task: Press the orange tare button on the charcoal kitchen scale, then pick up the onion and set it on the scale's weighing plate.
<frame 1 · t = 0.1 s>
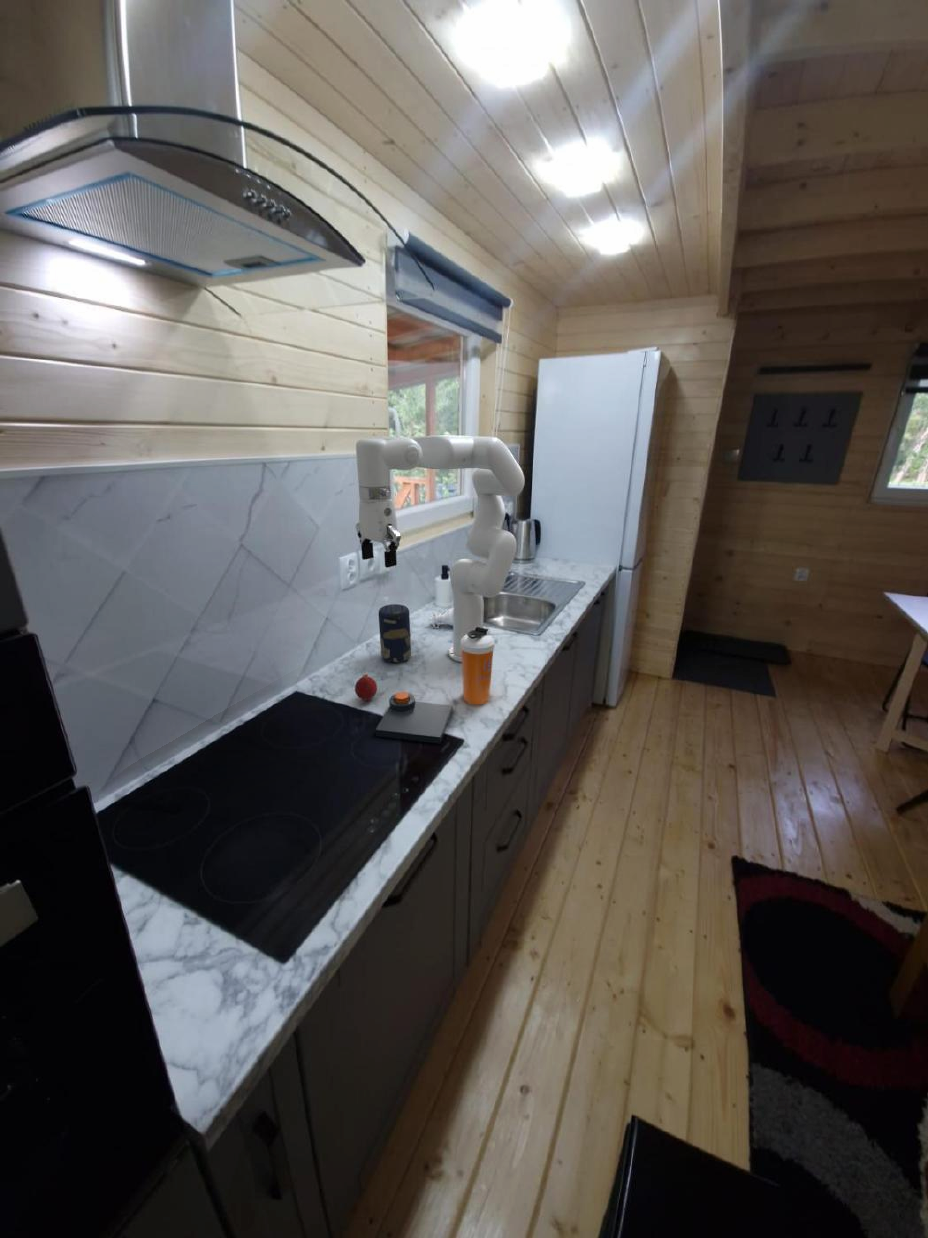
hand: (379, 562, 125), 37 cm above the worktop, tool pointing down, fingers open, 9 cm apart
rocket engine: (455, 625, 183), on the worktop
tare button: (401, 697, 128), point 4 cm above the worktop, slide at 0.1 cm
shaker bottle: (476, 698, 136), on the worktop
onion: (366, 700, 134), on the worktop
canister: (396, 658, 158), on the worktop
scale: (415, 723, 124), on the worktop
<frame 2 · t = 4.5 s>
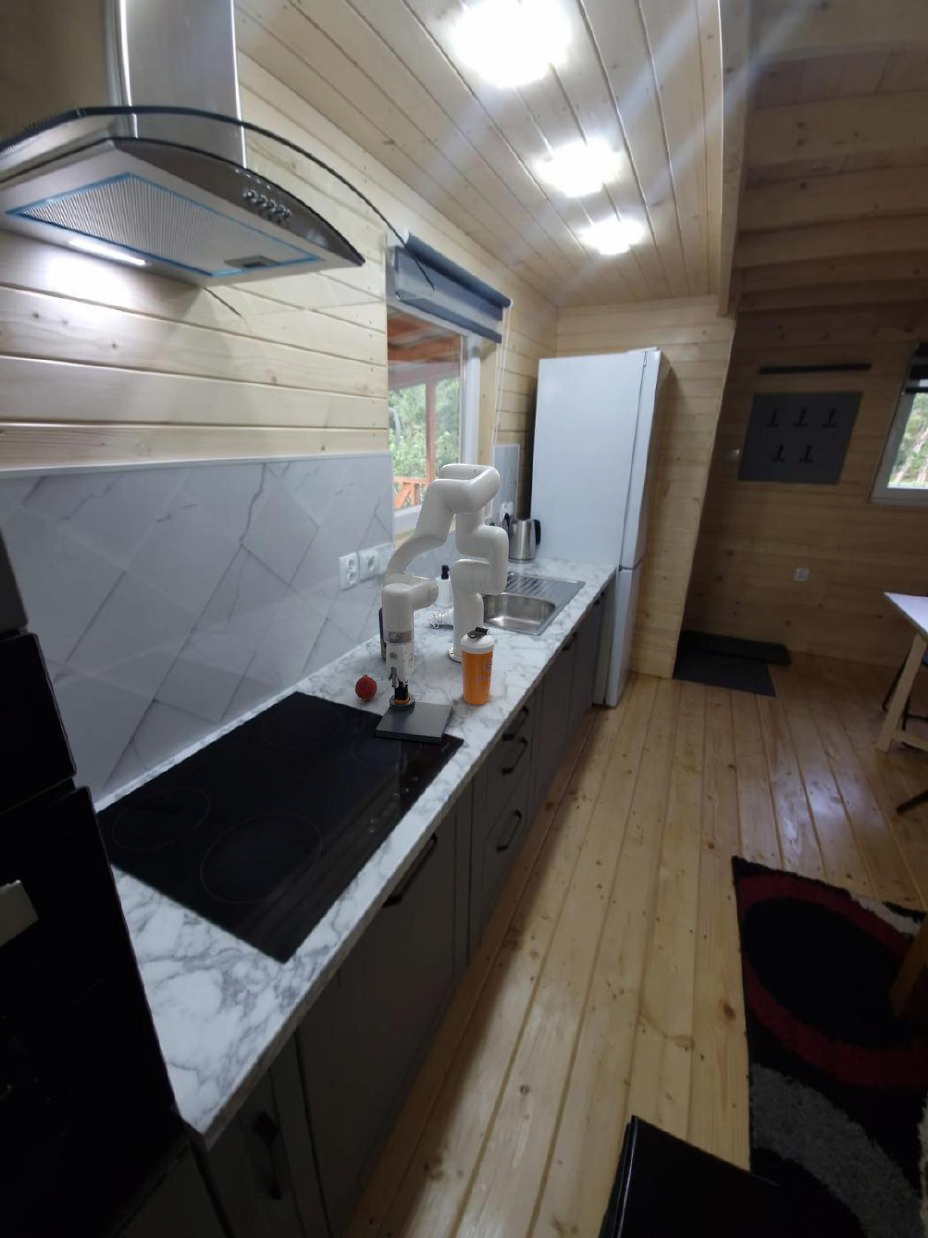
hand: (401, 698, 128), 4 cm above the worktop, tool pointing down, fingers closed
tare button: (402, 700, 129), point 3 cm above the worktop, slide at -0.7 cm, touching gripper
everything else where it was.
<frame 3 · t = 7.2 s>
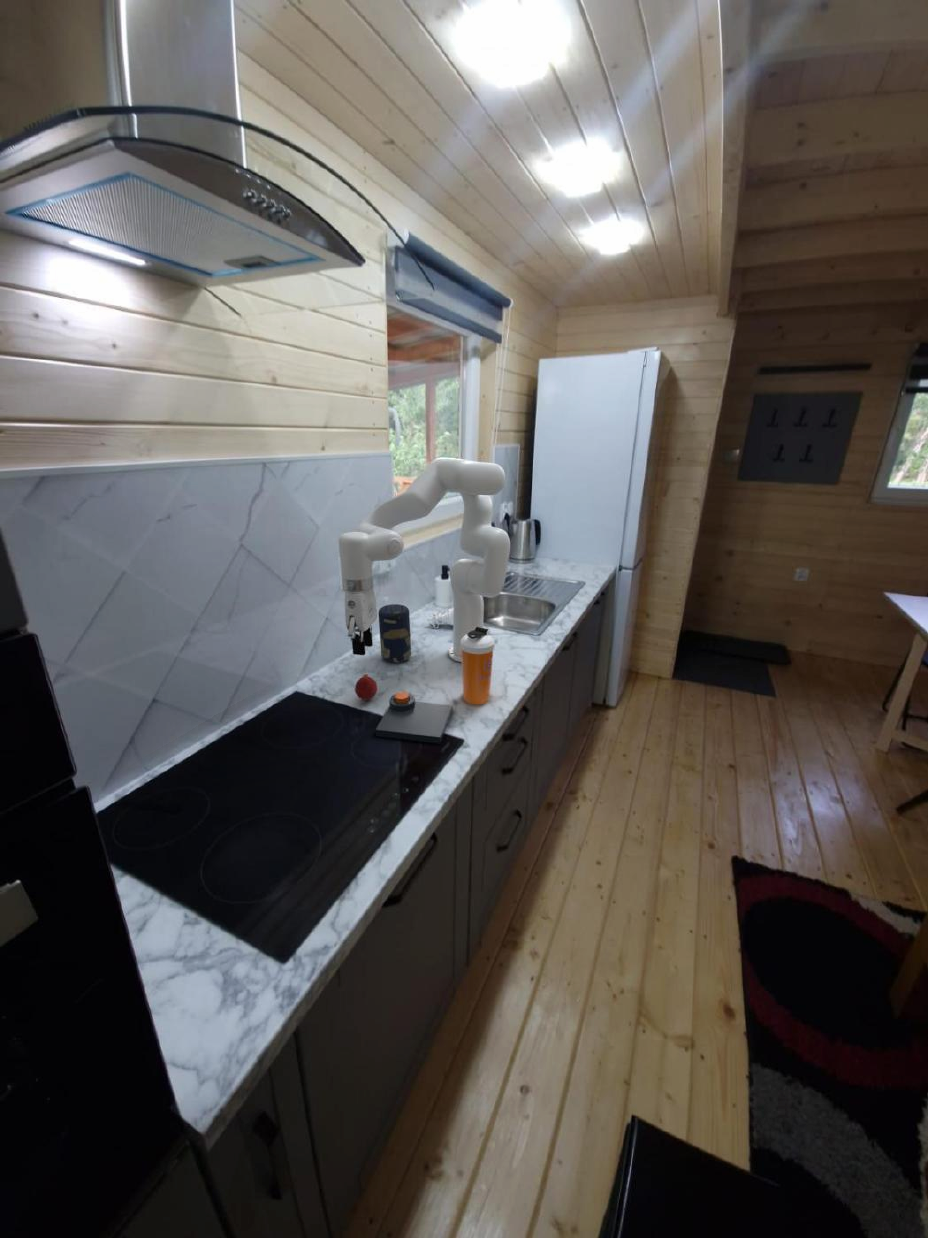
hand: (363, 649, 128), 15 cm above the worktop, tool pointing down, fingers open, 4 cm apart
tare button: (401, 697, 128), point 4 cm above the worktop, slide at 0.1 cm
everything else where it was.
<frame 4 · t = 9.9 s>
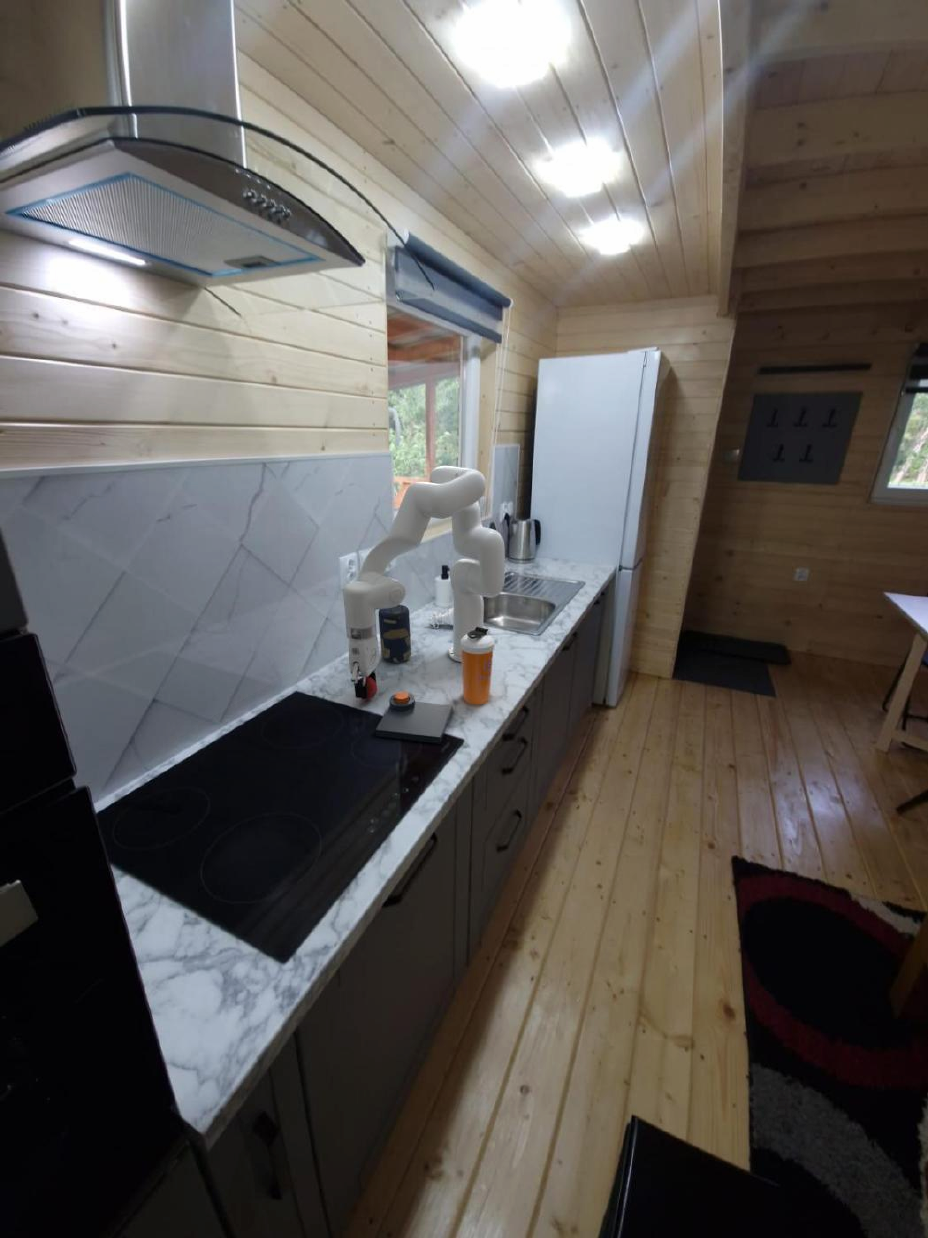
hand: (366, 690, 133), 3 cm above the worktop, tool pointing down, fingers closed on onion, 5 cm apart
onion: (366, 700, 134), on the worktop, touching gripper
everything else where it was.
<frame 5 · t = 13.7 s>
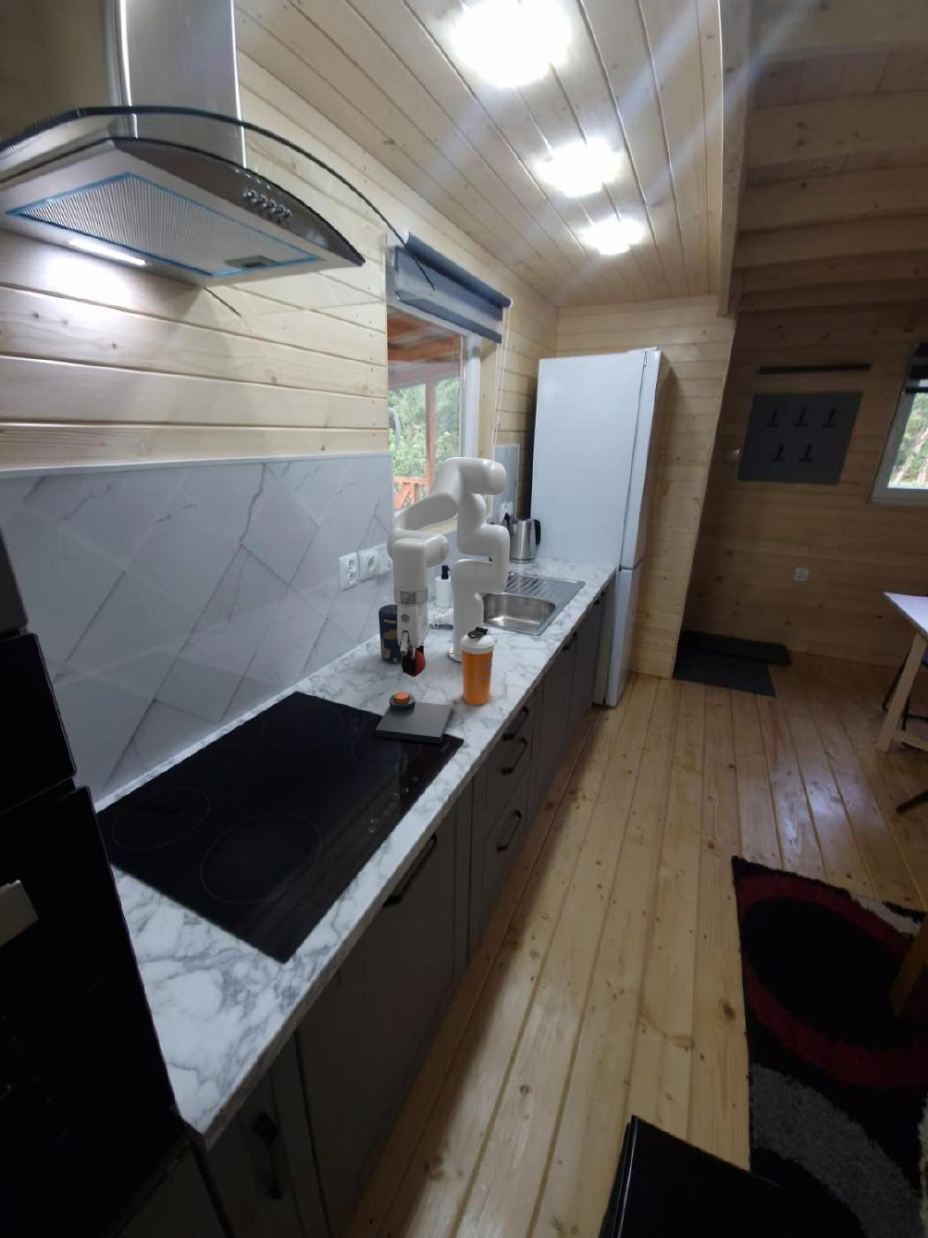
hand: (413, 665, 117), 17 cm above the worktop, tool pointing down, fingers closed on onion, 5 cm apart
onion: (413, 677, 118), point 14 cm above the worktop, touching gripper
everything else where it was.
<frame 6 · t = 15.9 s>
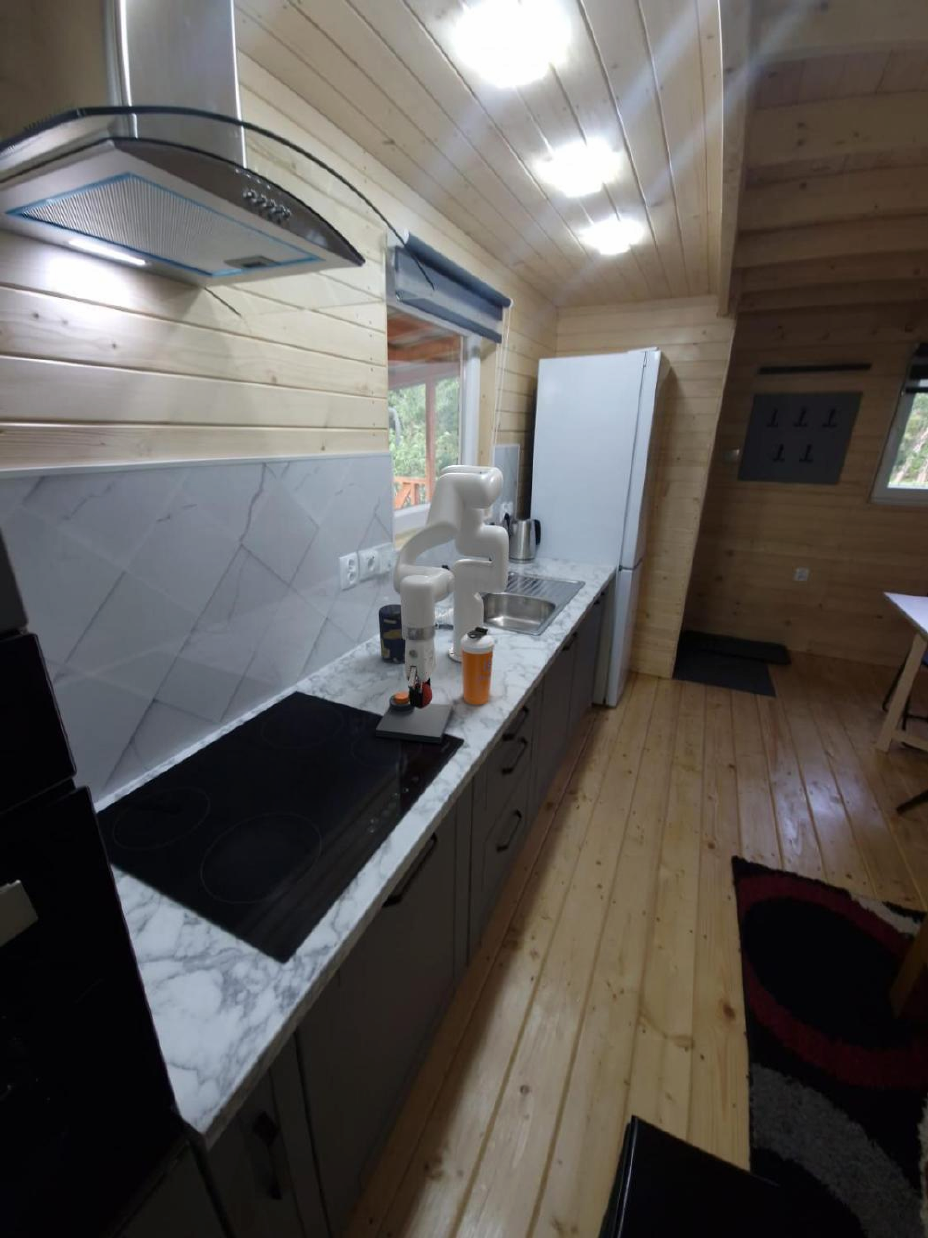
hand: (420, 698, 119), 9 cm above the worktop, tool pointing down, fingers closed on onion, 5 cm apart
onion: (420, 709, 120), point 6 cm above the worktop, touching gripper
everything else where it was.
when the fingers open (5 cm above the worktop, at t = 17.6 s): onion stays where it is, resting on scale.
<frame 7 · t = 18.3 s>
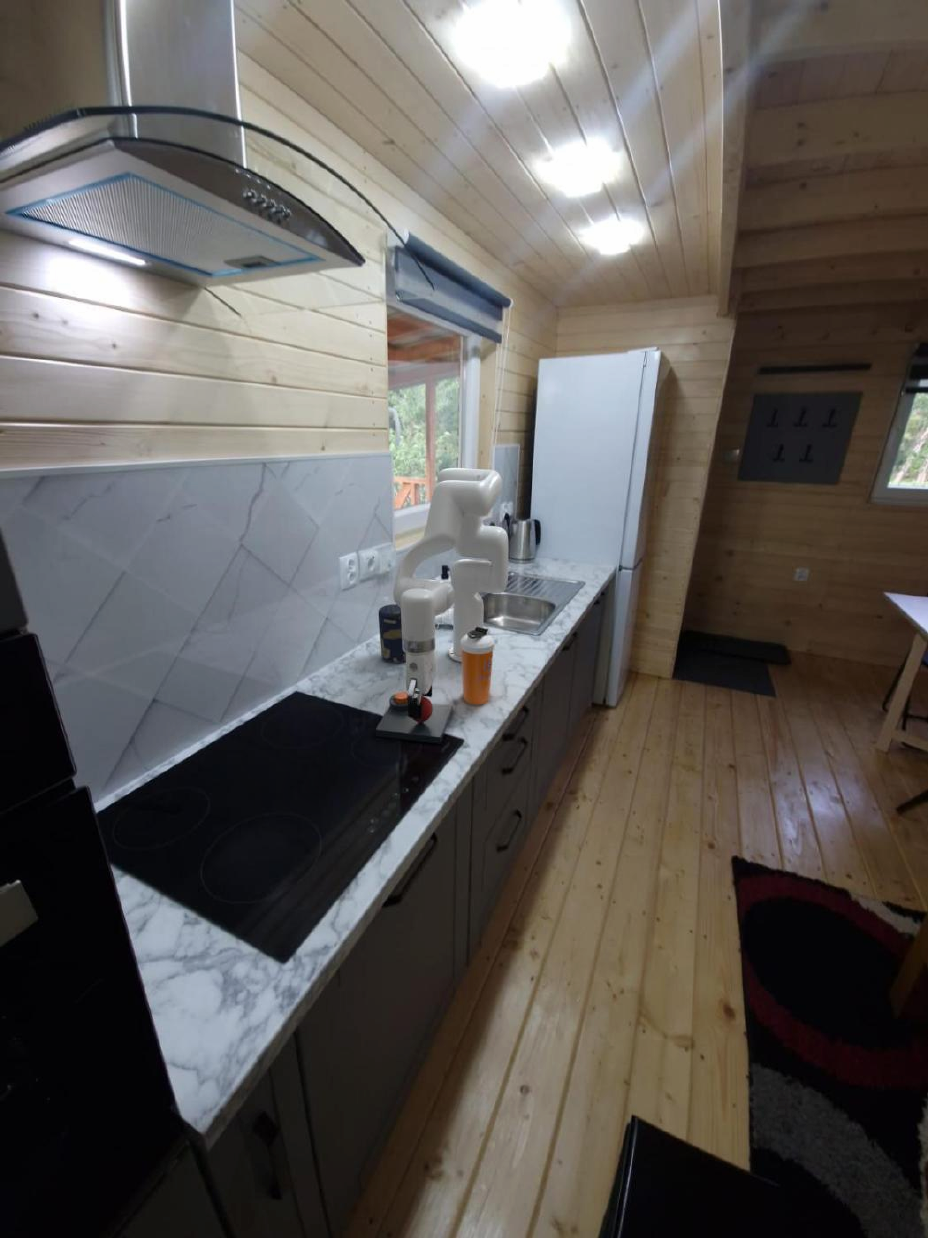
hand: (420, 706, 120), 6 cm above the worktop, tool pointing down, fingers open, 9 cm apart
onion: (421, 723, 122), point 2 cm above the worktop, touching scale
everything else where it was.
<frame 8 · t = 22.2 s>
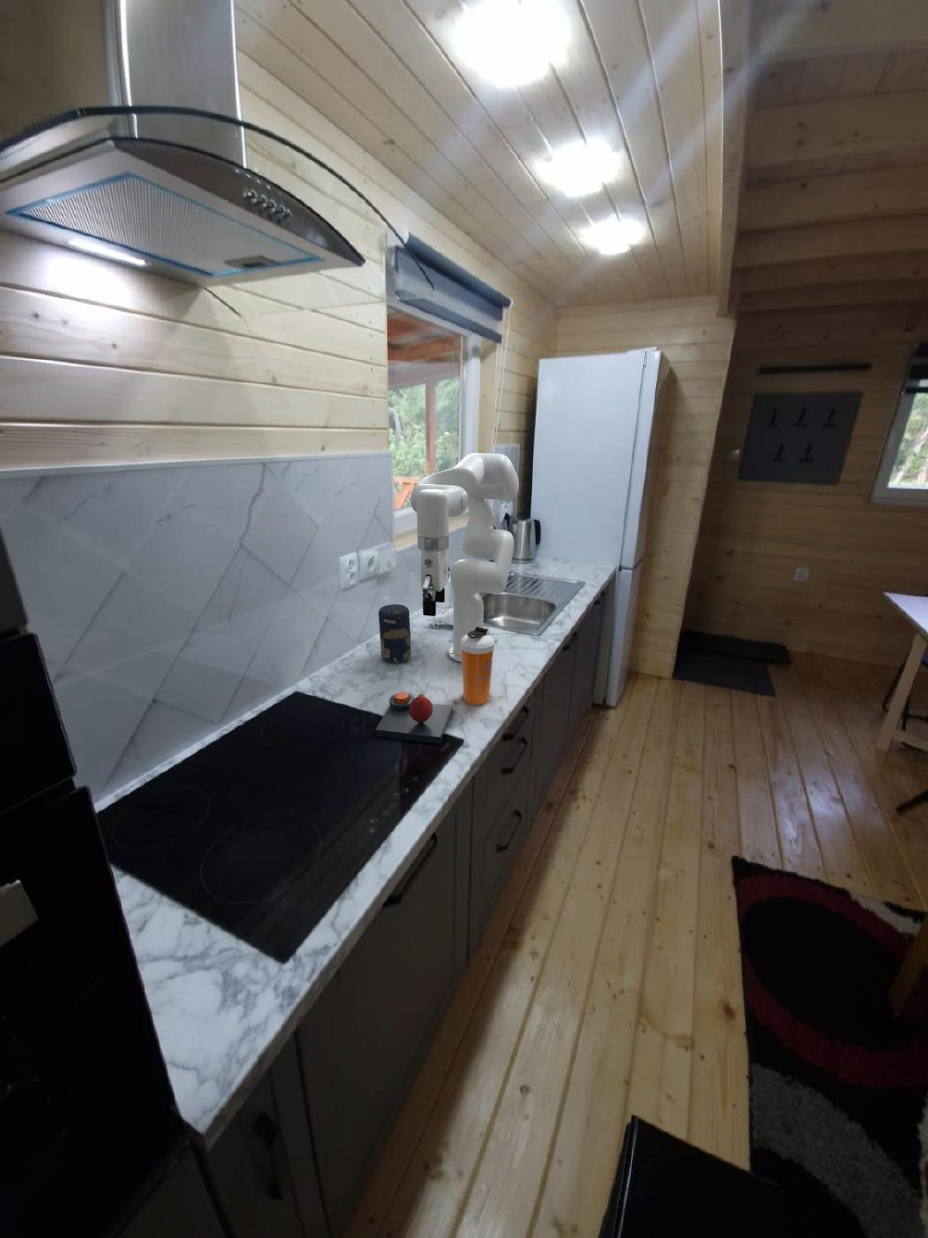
hand: (434, 608, 126), 26 cm above the worktop, tool pointing down, fingers open, 9 cm apart
nothing on the worktop moved.
at the end: tare button pushed in 0.9 cm at the most during the clip, back to where it started at the end; onion inside the target area on the scale (0.4 cm from its centre), point 1.7 cm above the scale's base; onion touching scale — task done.
